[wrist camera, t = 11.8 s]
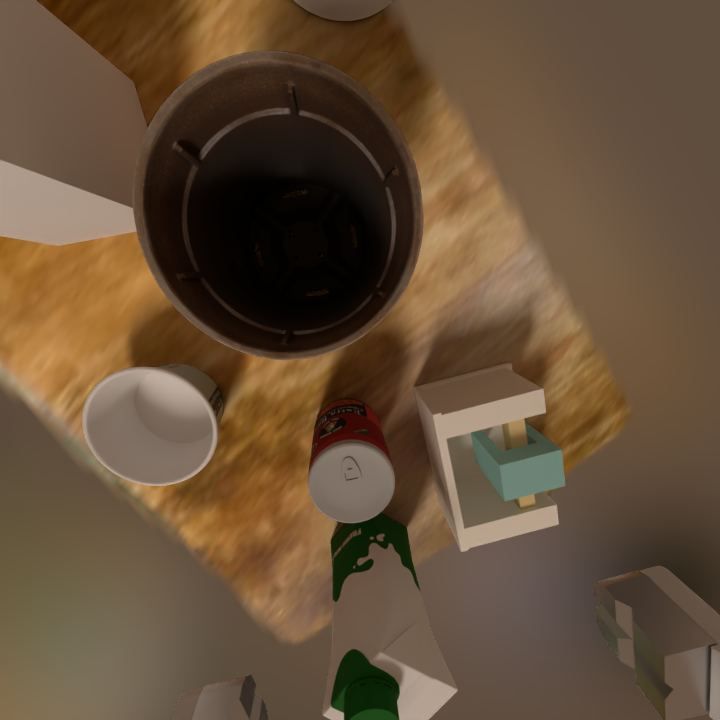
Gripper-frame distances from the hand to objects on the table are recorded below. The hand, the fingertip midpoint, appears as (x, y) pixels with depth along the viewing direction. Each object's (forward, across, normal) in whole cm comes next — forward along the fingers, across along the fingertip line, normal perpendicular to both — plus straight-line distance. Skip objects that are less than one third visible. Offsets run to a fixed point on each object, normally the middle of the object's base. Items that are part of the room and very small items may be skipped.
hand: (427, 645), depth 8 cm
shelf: (+31, -11, +14) cm, 36 cm away
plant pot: (+31, +2, -12) cm, 34 cm away
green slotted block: (+29, -13, +14) cm, 35 cm away
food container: (+31, +20, +1) cm, 37 cm away
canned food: (+31, +3, +9) cm, 33 cm away
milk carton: (+31, +4, +24) cm, 40 cm away
